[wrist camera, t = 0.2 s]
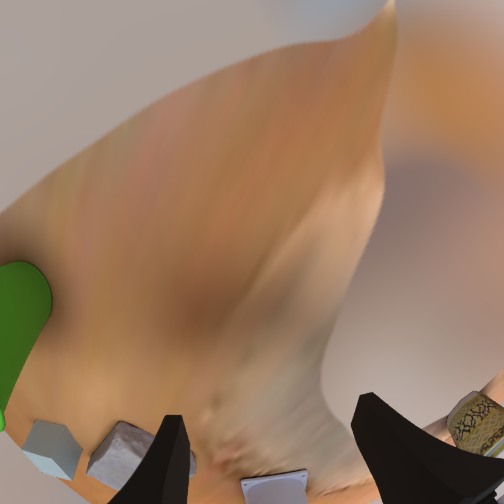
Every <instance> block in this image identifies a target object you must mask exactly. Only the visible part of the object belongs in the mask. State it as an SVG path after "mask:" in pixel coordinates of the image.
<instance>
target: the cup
mask: <svg viewBox="0 0 504 504" xmlns="http://www.w3.org/2000/svg"><path fill="white" fill-rule="evenodd" d="M51 306H52V296H51V291H50V288H49V286H48V283H47V281H46V280H45V278H44V276H43V275H42V274H41V273H40V271H39V270H38V269H36V268H35V267H34V266H32V265H31V264H29V263H25V262H20V261H16V262H11V263H8V264H5V265H2V266H0V432H1V431H3V430H4V428H5V425H6V424H5V416H4V411H5V408H6V406H7V403H8V401H9V398H10V396H11V393H12V391H13V388H14V386H15V384H16V381H17V379H18V377H19V375H20V372H21V370H22V368H23V366H24V364H25V362H26V360H27V357H28V355H29V353H30V351H31V349H32V347H33V345H34V343H35V341H36V339H37V338H38V336H39V334H40V332H41V330H42V328H43V326H44V324H45V323H46V321H47V319H48V317H49V315H50V312H51Z"/></svg>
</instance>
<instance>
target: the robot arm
mask: <svg viewBox="0 0 504 504" xmlns="http://www.w3.org/2000/svg"><path fill="white" fill-rule="evenodd" d="M351 428H352V431H353V434H354V437H355V440H356V443H357V446H358V448H359V450H360V452H361V454H362V456H363V458H364V460H365V462H366V464H367V466H368V468H369V470H370V472H371V474H372V476H373V478H374V480H375V482H376V485H377V487H378V490H379V493H380V496H381V499H382V502H383V504H504V495H503V496H501V497H500V498H499V499H498V500H497V501H496V500H495V498H494V497H495V496H497V493H496V492H495V489H496V488H497V487H498V486H499V485H500V484H501V483H502V482H503V481H504V459H502V458H495V457H488V456H483V455H479V454H475V453H471V452H468V451H465V450H462V449H460V448H457V447H454V446H452V445H450V444H447V443H445V442H443V441H441V440H439V439H437V438H435V437H433V436H432V435H430V434H428V433H427V432H425V431H423V430H422V429H420V428H419V427H417V426H415V425H414V424H413V423H411V422H410V421H408V420H407V419H406V418H404V417H403V416H402V415H400V414H399V413H398V412H396V411H395V410H394V409H393V408H391V407H390V406H389V405H388V404H387V403H385V402H384V401H383V400H382V399H380V398H379V397H378V396H377V395H376V394H374V393H373V392H371V393H366V394H362V395H360V396H359V399H358V403H357V406H356V410H355V413H354V416H353V419H352V422H351ZM189 474H190V442H189V439H188V436H187V432H186V429H185V425H184V422H183V418H182V415H166V416H165V417H164V419H163V421H162V424H161V426H160V428H159V430H158V432H157V434H156V436H155V438H154V440H153V442H152V444H151V445H150V447H149V449H148V451H147V453H146V454H145V456H144V458H143V459H142V461H141V462H140V464H139V465H138V467H137V468H136V470H135V471H134V473H133V474H132V476H131V477H130V478H129V480H128V481H127V482H126V483H125V485H124V486H123V487H122V488H121V489H120V491H119V492H118V493H117V494H116V495H115V496H114V497H113V498H112V499H111V500H110V501H109V502H108V503H107V504H187V495H188V484H189ZM307 477H308V471H307V470H302V471H297V472H292V473H286V474H280V475H274V476H267V477H259V478H251V479H243V480H241V481H240V482H241V486H242V490H243V494H244V497H245V501H246V504H309V503H308V499H307V496H306V492H305V489H306V483H307Z"/></svg>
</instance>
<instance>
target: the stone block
mask: <svg viewBox="0 0 504 504" xmlns="http://www.w3.org/2000/svg"><path fill="white" fill-rule="evenodd" d="M154 438H155V435H152V434H150V433H148V432H146V431H144V430H142V429H140V428H136V427H133V426H131V425H130V424H128V423H126V422H123V421H121V422H119V423H117V424H116V425H115V427H114V428H113V429H112V431H111V432H110V433H109V434H108V436H107V437H106V438H105V440H104V441H103V442H102V443H101V445H100V446H99V447H98V449H97V450H96V451H95V452H94V454H93V455H92V456H91V458H90V460H89V463H88V467H87V471H86V474H87V475H88V476H92V477H94V478H96V479H97V480H99V481H100V482H102V483H104V484H106V485H108V486H109V487H111V488H113V489H115V490H118V491H120V489H121V488H122V487H123V486H124V485H125V483H126V482H127V481H128V480H129V478H130V477H131V476H132V474H133V473H134V471H135V470H136V468H137V467H138V465H139V464H140V462H141V461H142V459H143V458H144V456H145V454H146V453H147V451H148V449H149V447H150V445H151V444H152V442H153V440H154ZM195 473H196V461H195V458H194V455H193V453H192V451H191V450H190V474H189V479H190V478H191V477H193V476H194V475H195Z"/></svg>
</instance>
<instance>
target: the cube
mask: <svg viewBox="0 0 504 504" xmlns="http://www.w3.org/2000/svg"><path fill="white" fill-rule="evenodd" d="M21 450H22V451H23V452H24V453H25V454H26V456H27V457H28V458H29V459H30V460H31V461H32V462H33V463H34V464H35V465H36V466H37V468H38V469H39V470H40V471H41V472H42V473H45V474H49V475H52V476H55V477H59V478H63V479H67V480H71V481H73V478H74V474H75V471H76V468H77V465H78V462H79V459H80V456H81V453H82V450H83V449H82V448H81V447H80V445H79V444H78V443H77V441H76V440H75V439H74V437H73V436H72V434H71V433H70V432H69V430H68V429H67V427H66V426H65V425H59V424H54V423H48V422H43V421H39V420H36V421H35V423H34V425H33V427H32V429H31V431H30V433H29V435H28V437H27V439H26V441H25V443H24V445H23V447H22V449H21Z"/></svg>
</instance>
